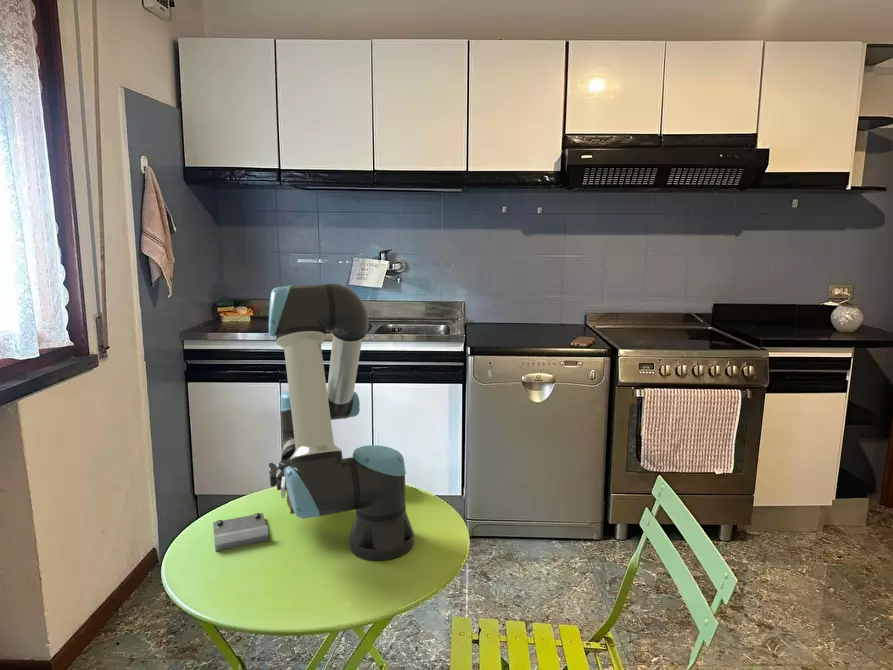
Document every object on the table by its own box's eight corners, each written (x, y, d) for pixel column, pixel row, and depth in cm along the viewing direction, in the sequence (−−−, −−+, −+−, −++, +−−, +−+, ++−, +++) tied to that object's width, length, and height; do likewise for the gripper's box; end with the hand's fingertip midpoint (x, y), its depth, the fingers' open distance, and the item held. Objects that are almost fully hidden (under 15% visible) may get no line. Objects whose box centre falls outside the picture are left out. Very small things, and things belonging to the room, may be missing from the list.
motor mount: (268, 540, 144) (267, 526, 144) (215, 551, 140) (214, 537, 139) (263, 518, 155) (262, 505, 155) (213, 527, 151) (212, 514, 150)
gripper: (328, 466, 166) (331, 502, 144) (263, 472, 162) (256, 510, 140) (327, 440, 165) (330, 472, 142) (261, 446, 161) (254, 480, 139)
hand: (293, 491), depth 141 cm, fingers closed on rock, 4 cm apart
